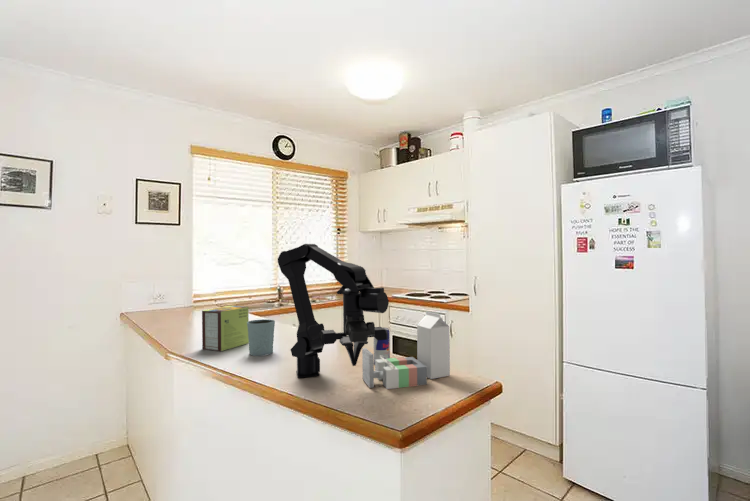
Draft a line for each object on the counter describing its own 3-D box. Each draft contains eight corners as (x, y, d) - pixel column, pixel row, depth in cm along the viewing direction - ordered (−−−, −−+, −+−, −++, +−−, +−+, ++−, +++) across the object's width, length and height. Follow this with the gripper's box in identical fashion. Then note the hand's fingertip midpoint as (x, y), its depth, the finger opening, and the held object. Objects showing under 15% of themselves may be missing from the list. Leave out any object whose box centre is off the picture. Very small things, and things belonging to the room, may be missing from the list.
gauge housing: (386, 389, 106) (386, 370, 106) (375, 376, 117) (375, 359, 117) (427, 384, 109) (426, 366, 109) (412, 372, 120) (412, 356, 120)
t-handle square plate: (371, 390, 104) (371, 357, 104) (360, 376, 116) (360, 346, 116) (403, 386, 107) (403, 354, 107) (389, 373, 119) (389, 344, 119)
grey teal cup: (246, 357, 140) (245, 324, 141) (248, 350, 150) (248, 319, 150) (274, 355, 143) (274, 322, 143) (275, 348, 153) (275, 318, 153)
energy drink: (388, 367, 126) (388, 330, 126) (372, 366, 127) (372, 330, 127) (390, 362, 131) (390, 327, 132) (375, 362, 133) (375, 327, 133)
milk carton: (430, 379, 113) (430, 315, 114) (417, 373, 120) (416, 312, 120) (450, 376, 117) (449, 313, 117) (436, 369, 123) (435, 310, 123)
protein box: (249, 343, 163) (249, 306, 163) (221, 351, 149) (220, 311, 149) (230, 341, 167) (230, 305, 167) (201, 349, 153) (201, 310, 153)
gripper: (324, 316, 99) (325, 377, 99) (393, 312, 104) (394, 370, 104) (318, 310, 110) (319, 365, 110) (381, 307, 115) (382, 360, 115)
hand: (353, 365), depth 109 cm, fingers closed
